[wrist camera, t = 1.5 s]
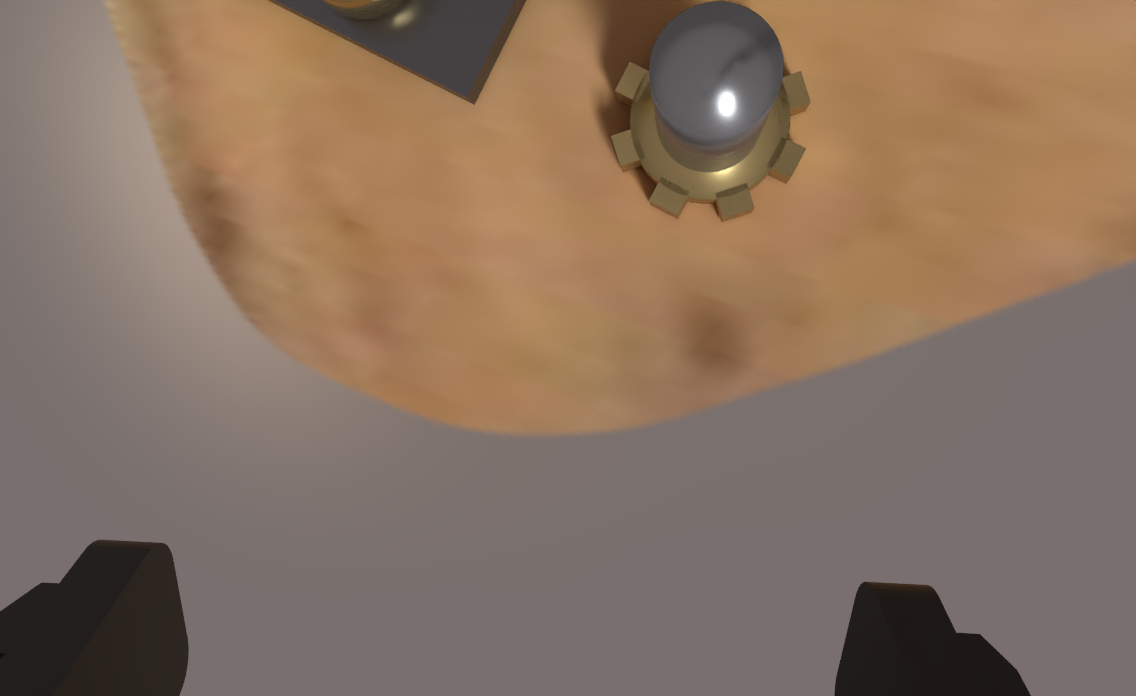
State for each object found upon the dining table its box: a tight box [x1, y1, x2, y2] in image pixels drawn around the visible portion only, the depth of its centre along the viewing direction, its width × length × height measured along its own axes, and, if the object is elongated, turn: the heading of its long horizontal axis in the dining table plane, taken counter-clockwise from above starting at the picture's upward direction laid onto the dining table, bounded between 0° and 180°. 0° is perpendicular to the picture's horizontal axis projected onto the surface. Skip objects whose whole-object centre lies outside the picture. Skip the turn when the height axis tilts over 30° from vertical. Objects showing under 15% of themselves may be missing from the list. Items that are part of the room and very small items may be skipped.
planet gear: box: [611, 1, 810, 222], centre depth 29 cm, size 7×7×8 cm
